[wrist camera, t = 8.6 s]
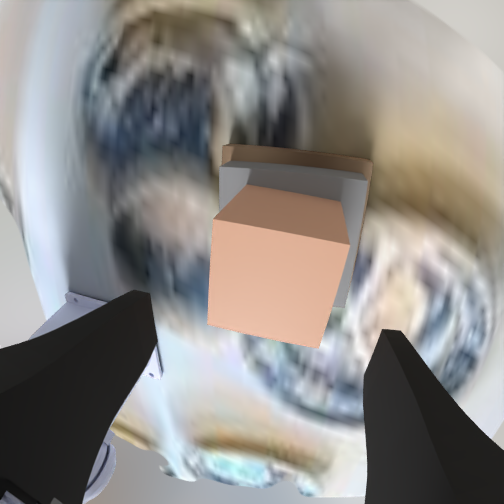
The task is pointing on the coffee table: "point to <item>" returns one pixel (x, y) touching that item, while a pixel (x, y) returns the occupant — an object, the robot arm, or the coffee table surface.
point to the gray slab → (309, 183)
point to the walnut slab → (300, 162)
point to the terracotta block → (276, 264)
